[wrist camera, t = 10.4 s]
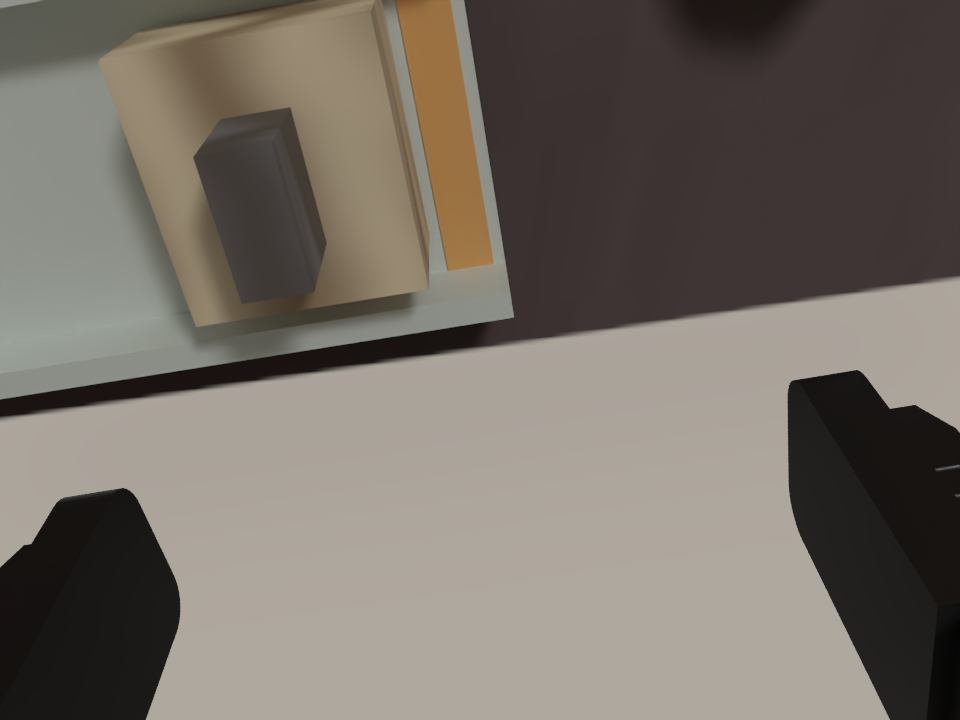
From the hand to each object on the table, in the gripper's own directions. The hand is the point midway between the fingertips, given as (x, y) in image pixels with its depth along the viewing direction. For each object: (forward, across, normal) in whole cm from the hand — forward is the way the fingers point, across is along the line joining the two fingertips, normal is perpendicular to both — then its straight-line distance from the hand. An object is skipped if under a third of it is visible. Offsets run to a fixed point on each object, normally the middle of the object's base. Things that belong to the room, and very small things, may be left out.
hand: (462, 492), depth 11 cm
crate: (+27, +7, +2) cm, 28 cm away
